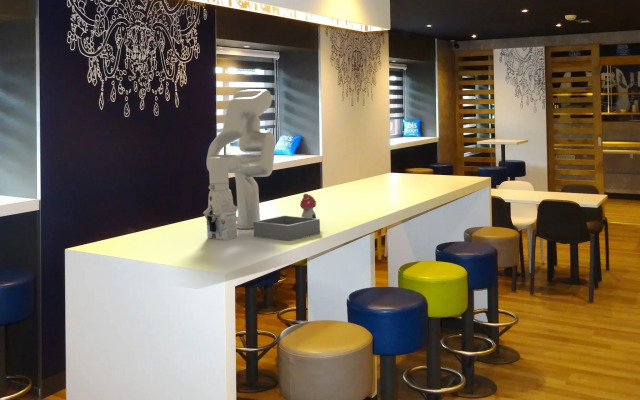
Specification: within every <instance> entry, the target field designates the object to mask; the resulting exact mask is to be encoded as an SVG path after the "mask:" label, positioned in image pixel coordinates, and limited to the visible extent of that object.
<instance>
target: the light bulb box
mask: <svg viewBox="0 0 640 400" xmlns="http://www.w3.org/2000/svg"><path fill="white" fill-rule="evenodd" d="M209 216H210V215H209ZM236 217H237V212H236V211H230V212H225V213H221V216H219V217H218V216H217V217H216V219H215V221H214V222H216V232H211V231H210V226H209V222H208V220H207V219H206V231H207V232H206V235H207V239H210V238H213V239H212V240H221V241H222V240H223V241H229V240H233V239H236V238H238V228H237V221H236ZM212 218H213V217H212Z"/></svg>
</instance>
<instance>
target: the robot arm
mask: <svg viewBox="0 0 640 400" xmlns="http://www.w3.org/2000/svg"><path fill="white" fill-rule="evenodd" d="M272 99H273V98H272V94H271V92H270V91H269V90H268V89H261V88H260V89H259V88H258V89H245V90H244V89H243V90H238V91H236V92H235V93H234V94H233V97H232V99H230V100H229V101H228V103H227V107H226V112H225V116H224V117H225V118H224V123H223V128H222V130H221V132H220V133H219V134H217V135H216V137H214V140H212V142H211V143H210V145H209V147H208V151H207V156H206V163H205V164H206V169H207V171H208V172H209V185H208V189H209V190H210V191H209V193H208V200H207V201H208V204H207V208H206V209H205V210H204V211H203V212H202V214H203V215H204V217H205V219H206V221H207V220H208V222H209V226H210V231H211V232H216V222H214V221H215V219H216V217H217V216H218V217H219V216H221V213H225V212H230V211H236V213H237V215H236V221H237V229H240V230H244V229H245V230H246V229H248V230H250V229H251V230H252V229H254V226H253V222H254V221H259V220H261V218H260V217H261V214H260V213H261V212H260V197H259V195H260V193H259V185H258V182H257V181H256V180H255V179H254V178H255V177H256V178H258V177H259V178H261V177H262V178H263V177H264V178H265V177H266V178H267V177H269V176H270V175H272V172H273V168H274V162H275V158H274V157H275V152H276V151H275V150H276V139H275V136H274V134H273V133H272V132H271V131H270V130H261V129H260V128H261V120H260V118H259V117H260V116H261V115H263V114H264V113H265V112H266V111H267V110H268V109H269V108H270V107H271V106H272V102H273V100H272ZM237 140H238V146H239V150H240V151H241V152H243V153H245V154H241V155H236V154H220V153H221V151H222V149H224V147H225V146H227V145H229V144H231V143H233V142H235V141H237ZM247 153H249V154H247ZM250 153H251V154H250ZM252 153H259V154H252ZM229 174H234V177H235V178H234V179H235V187H236V188H235V189H236V203H237V205H235V204H234V197H233V194H232V190H231V189H230V181H229V179H230V178H229ZM209 215H210V216H209ZM212 217H213V218H212Z"/></svg>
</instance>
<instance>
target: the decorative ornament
mask: <svg viewBox="0 0 640 400" xmlns="http://www.w3.org/2000/svg"><path fill="white" fill-rule="evenodd" d="M299 206H300V208H301V209H302V213H301V216H300V217H305V218H315V219H317V216H316V213H315V210H314V208H316V207H317V201H316V199H315V198H314V197H313V196H312V195H310V194H309V193H303V195H302V199H301V201H300V204H299Z"/></svg>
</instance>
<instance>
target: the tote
mask: <svg viewBox="0 0 640 400" xmlns="http://www.w3.org/2000/svg"><path fill="white" fill-rule="evenodd" d="M253 226H254V228H253V237H255V238H256V237H258V238H263V239H264V238H265V239H274V240H278V241H288V242H290V241H294V240H299V239H303V238H306V237H307V238H308V237H311V236H316V235H320V234H321V219H320V218H316V219H315V218H305V217H301V216H295V215H285V214H284V215H280V216H275V217H270V218H266V219H260V220H259V221H254V222H253Z"/></svg>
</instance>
